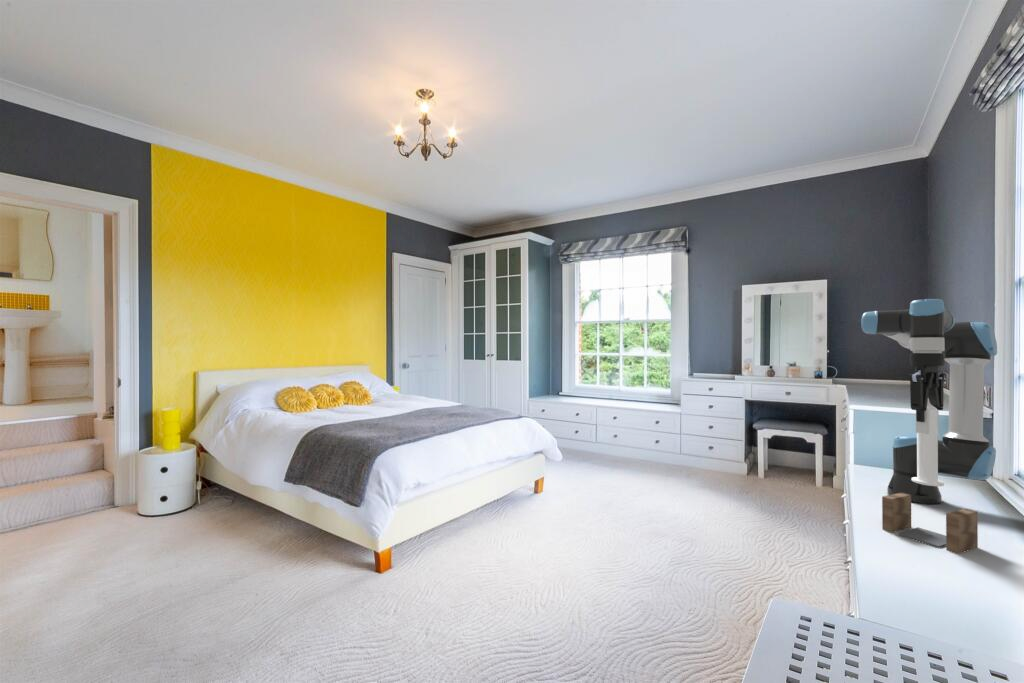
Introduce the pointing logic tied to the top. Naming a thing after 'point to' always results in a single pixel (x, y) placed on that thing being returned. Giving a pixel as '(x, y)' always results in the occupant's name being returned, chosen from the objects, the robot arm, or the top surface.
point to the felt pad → (925, 536)
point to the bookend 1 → (896, 512)
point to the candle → (928, 452)
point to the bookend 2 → (961, 530)
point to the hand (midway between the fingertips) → (927, 432)
